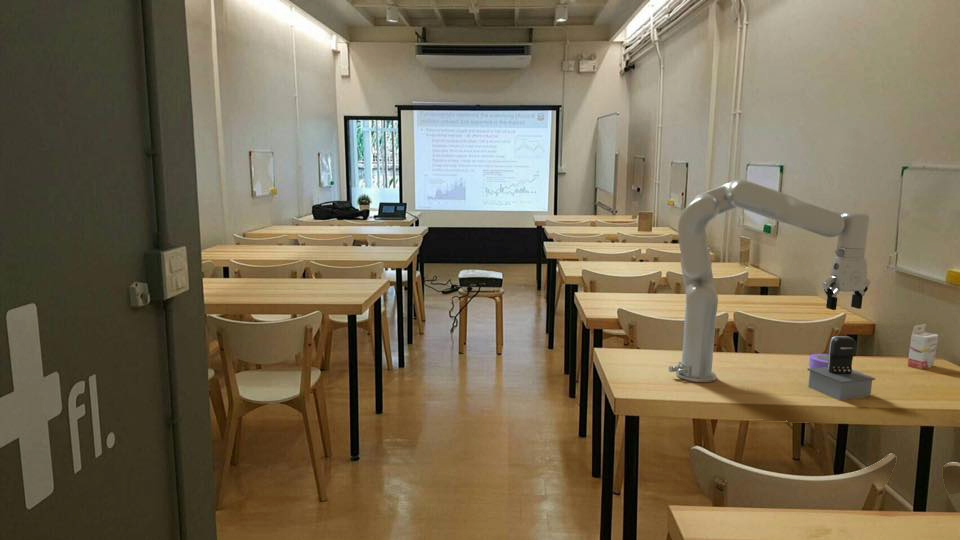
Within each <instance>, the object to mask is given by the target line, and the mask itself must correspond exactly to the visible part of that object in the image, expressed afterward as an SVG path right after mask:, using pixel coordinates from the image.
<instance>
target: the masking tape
mask: <svg viewBox="0 0 960 540" xmlns="http://www.w3.org/2000/svg"><path fill="white" fill-rule="evenodd" d="M828 360H829V353H828V354H827V353H814V354H813V353H812V354H810V355H809V361H808V367H809V368H818V367H828Z"/></svg>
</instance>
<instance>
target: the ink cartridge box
mask: <svg viewBox="0 0 960 540" xmlns="http://www.w3.org/2000/svg"><path fill="white" fill-rule="evenodd" d="M926 328H927V324H926V323H922V324H918V325H914V326H913V329H912V334H911V337H910V338H911V339H910V345H909V351H908V353H909V354H908V361H907V366H908V367H911V368H914V367H915V369H918V368H919V369H918V370H924V368H925V369H928V367H929V368H932V367H931V366H933V367H934V366H935V360H936V352H937V346H938V341H939V334H938V333H937V334H936V333H933V332H927V331H926Z"/></svg>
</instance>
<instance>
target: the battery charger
mask: <svg viewBox="0 0 960 540" xmlns="http://www.w3.org/2000/svg"><path fill="white" fill-rule="evenodd" d="M828 354H829V360H828V369H827V370H828V371H829V372H832V373H837V374H851V373H852V370H853V367H852V365H853V358H854V356H856V354H857V341H856V340H855V339H854V338H853V337H850V336H842V335H841V336H840V335H839V336H838V335H837V336H833V337H831V339H830V340H829V349H828Z"/></svg>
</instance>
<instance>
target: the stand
mask: <svg viewBox="0 0 960 540" xmlns="http://www.w3.org/2000/svg"><path fill="white" fill-rule="evenodd" d="M827 369H828V367H818V368H810V367H809V368H807V371H809V377H808V388H810V389H813V390H814V391H817V392H819V393H820V394H824V395H826V396H829V397H831V398H833V399H836V400H837V401H844V400H852V399H851V398H854V399H861V398H860V397H863V398H869V397H868V396H870V397H871V394H872V386H873V385H872V384H873V381H876V377H873V376H870V375H869V374H865V373H862V372H861V371H860V372H859V371H857V370H854V369H852V373H851V374H837V373H832V372H829V371H828V370H827Z"/></svg>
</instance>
